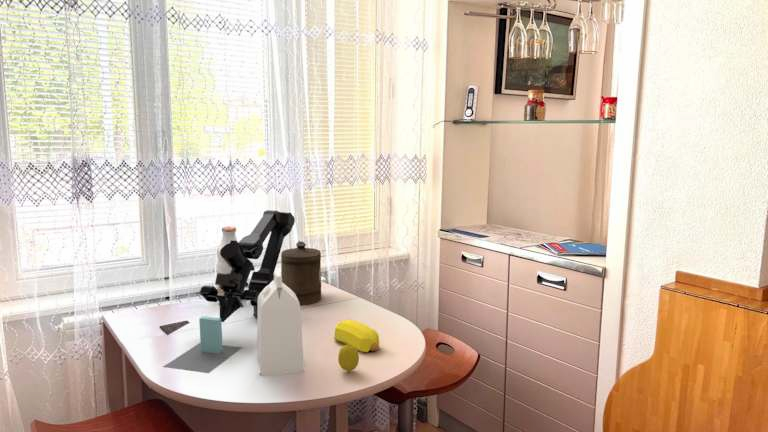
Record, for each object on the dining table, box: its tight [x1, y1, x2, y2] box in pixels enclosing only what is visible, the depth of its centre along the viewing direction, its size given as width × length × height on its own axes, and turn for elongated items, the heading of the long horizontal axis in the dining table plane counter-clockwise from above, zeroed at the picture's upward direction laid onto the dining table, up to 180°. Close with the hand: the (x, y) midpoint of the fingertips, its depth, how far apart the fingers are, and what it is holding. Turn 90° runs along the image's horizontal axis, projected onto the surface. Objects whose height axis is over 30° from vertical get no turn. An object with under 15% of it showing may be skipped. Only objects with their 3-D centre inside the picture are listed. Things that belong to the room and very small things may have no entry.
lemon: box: [337, 344, 360, 373], centre depth 156 cm, size 6×6×8 cm
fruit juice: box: [216, 226, 245, 303], centre depth 212 cm, size 9×9×28 cm
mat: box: [162, 341, 243, 374], centre depth 165 cm, size 18×14×1 cm
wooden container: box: [280, 241, 322, 306], centre depth 217 cm, size 15×15×22 cm
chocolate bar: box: [159, 320, 191, 336], centre depth 184 cm, size 9×1×18 cm
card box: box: [199, 315, 223, 354], centre depth 167 cm, size 2×6×10 cm, turn 75°
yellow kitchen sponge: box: [333, 318, 380, 353], centre depth 175 cm, size 18×7×8 cm
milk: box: [256, 270, 305, 377], centre depth 159 cm, size 12×12×26 cm
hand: (221, 321), depth 172 cm, fingers closed
